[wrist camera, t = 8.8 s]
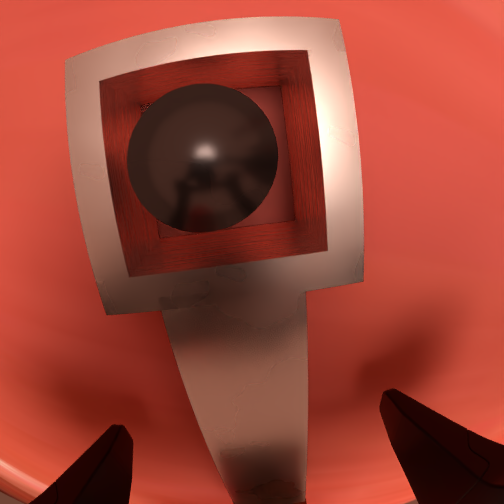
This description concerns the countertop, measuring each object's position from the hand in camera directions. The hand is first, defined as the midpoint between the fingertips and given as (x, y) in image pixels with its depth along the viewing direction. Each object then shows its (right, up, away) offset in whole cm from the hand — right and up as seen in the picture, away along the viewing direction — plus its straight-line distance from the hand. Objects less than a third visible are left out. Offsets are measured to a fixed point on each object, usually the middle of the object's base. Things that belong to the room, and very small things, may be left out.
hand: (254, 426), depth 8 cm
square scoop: (0, +3, +1) cm, 3 cm away
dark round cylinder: (-1, +8, -1) cm, 8 cm away
